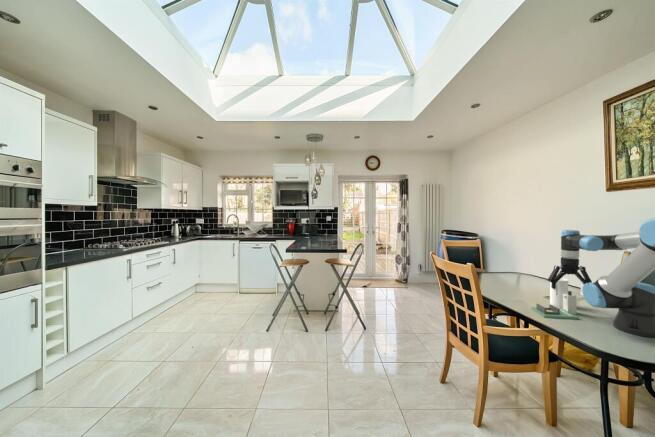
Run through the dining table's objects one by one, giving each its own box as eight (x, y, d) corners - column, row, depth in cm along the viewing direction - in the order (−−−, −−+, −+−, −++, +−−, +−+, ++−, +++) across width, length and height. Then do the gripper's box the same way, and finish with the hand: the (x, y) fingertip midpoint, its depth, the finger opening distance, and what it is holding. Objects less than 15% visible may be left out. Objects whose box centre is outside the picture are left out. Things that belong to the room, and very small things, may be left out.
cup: (560, 303, 161) (561, 277, 161) (571, 307, 153) (572, 280, 153) (546, 302, 162) (546, 277, 162) (556, 307, 154) (557, 280, 154)
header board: (578, 319, 137) (579, 311, 137) (544, 317, 140) (544, 309, 140) (562, 310, 148) (562, 303, 148) (531, 309, 151) (531, 302, 151)
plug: (576, 314, 144) (576, 292, 144) (567, 313, 145) (568, 292, 144) (571, 311, 148) (571, 290, 147) (562, 311, 148) (563, 290, 148)
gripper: (590, 256, 147) (589, 293, 148) (540, 255, 152) (539, 291, 152) (601, 259, 140) (600, 298, 140) (548, 258, 144) (548, 296, 145)
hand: (569, 295), depth 146 cm, fingers open, 13 cm apart
